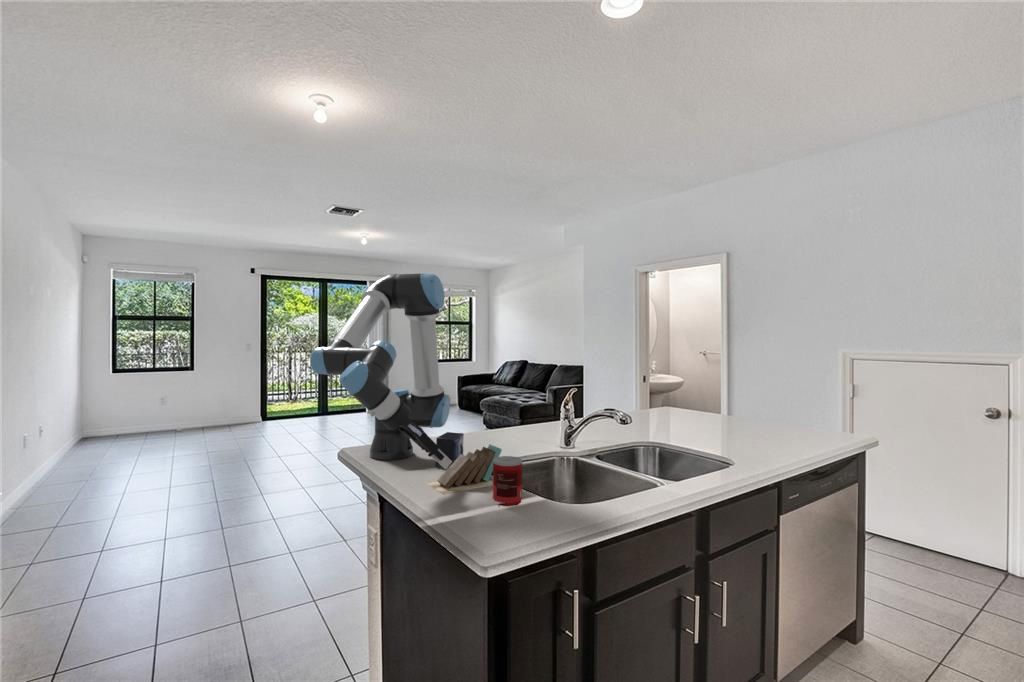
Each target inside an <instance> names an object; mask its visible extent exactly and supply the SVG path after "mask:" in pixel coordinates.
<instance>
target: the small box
mask: <svg viewBox="0 0 1024 682" xmlns="http://www.w3.org/2000/svg"><path fill="white" fill-rule="evenodd" d="M435 440H436V442H435V444H436V445H438V446H439V449H440V450H441V451H442V452H443V453H444V454H445V455H446V456H447V457H448V458H449V459H450V460H451V461H452V463H451V464H450V465H449V466H448V468H449V467H450V466H451V465H452V464H453V462H454V461H455V460H456V459H457V458H458V457H459V456H460V455H461V454H462V455H464V432H463V433H462V432H451V431H447V432H445V433H442V434H441V435H439V436H438V437H436V439H435ZM435 468H438V469H439V468H441V469H444V468H443V467H442V466H441V465H440V464H439V463H438V462H437V461H436V460H435ZM448 468H447V469H448Z"/></svg>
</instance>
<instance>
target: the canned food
mask: <svg viewBox="0 0 1024 682" xmlns="http://www.w3.org/2000/svg"><path fill="white" fill-rule="evenodd" d="M492 481H493V485H492V499H493V501H496V502H497V503H498V502H499V503H498V504H497V506H502V507H514V505H515V506H517V505H519V503H520V504H521V502H522V500H523V459H522V458H520V457H518V456H512V455H503V456H501V455H500V456H499V457H497V458H494V459H493V471H492Z"/></svg>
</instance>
